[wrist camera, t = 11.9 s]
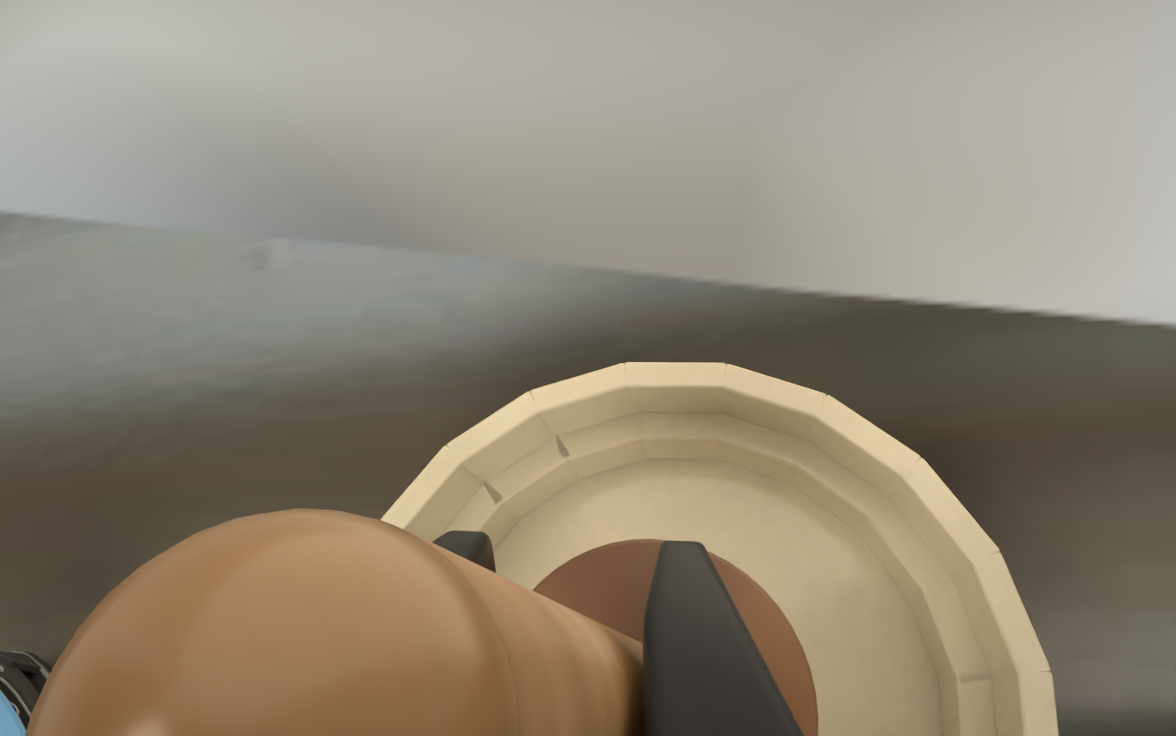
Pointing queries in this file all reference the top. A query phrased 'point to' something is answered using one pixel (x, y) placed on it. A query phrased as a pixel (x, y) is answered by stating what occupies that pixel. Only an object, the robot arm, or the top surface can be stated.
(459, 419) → the top surface
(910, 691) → the bowl
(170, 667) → the wooden peg stand
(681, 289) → the top surface
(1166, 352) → the top surface
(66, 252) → the top surface
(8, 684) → the toy car
